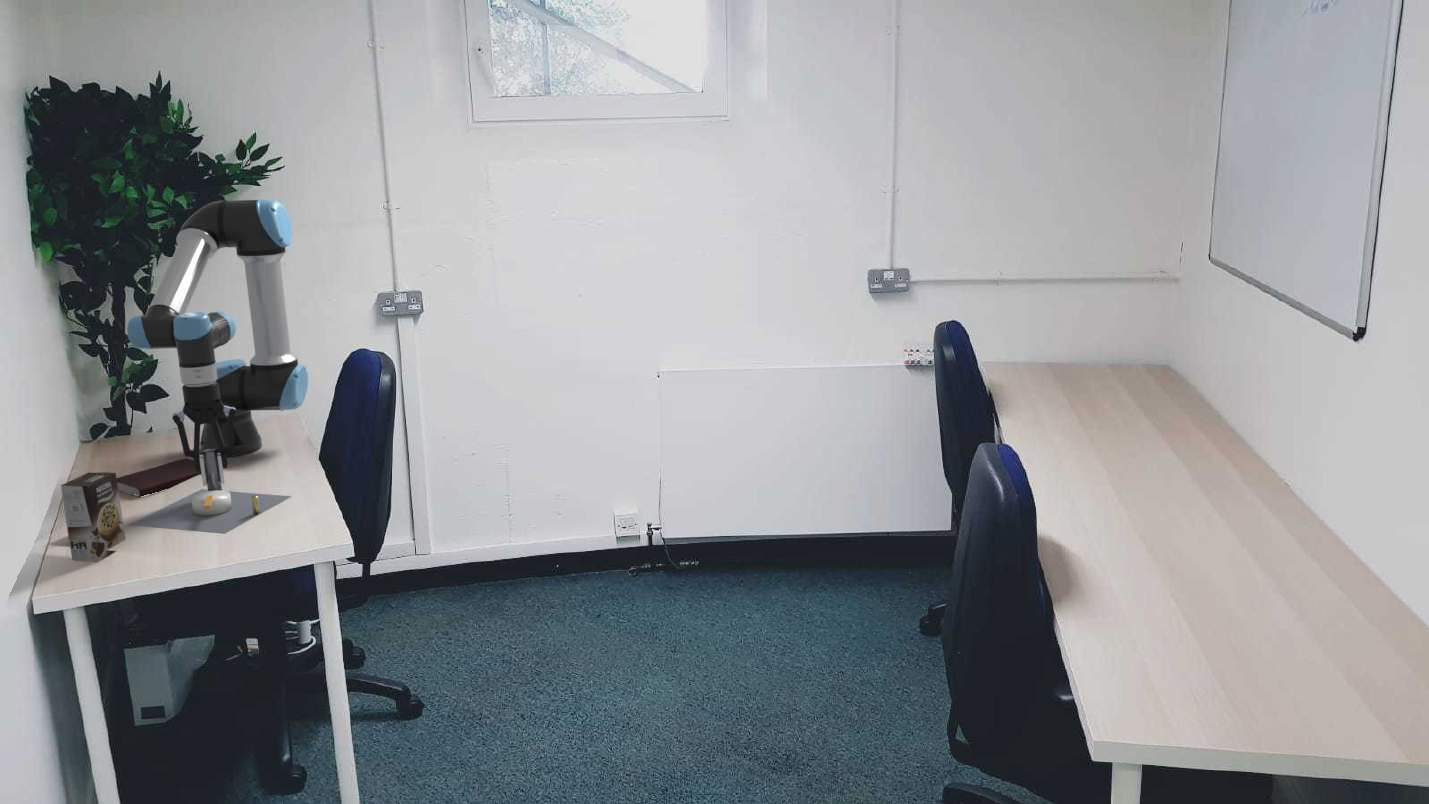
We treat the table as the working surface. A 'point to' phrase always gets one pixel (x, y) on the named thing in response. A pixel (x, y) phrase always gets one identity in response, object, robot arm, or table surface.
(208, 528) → the dial base plate
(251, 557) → the table surface
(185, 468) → the book
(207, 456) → the white grey handled piece
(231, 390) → the robot arm
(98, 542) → the cookie box
